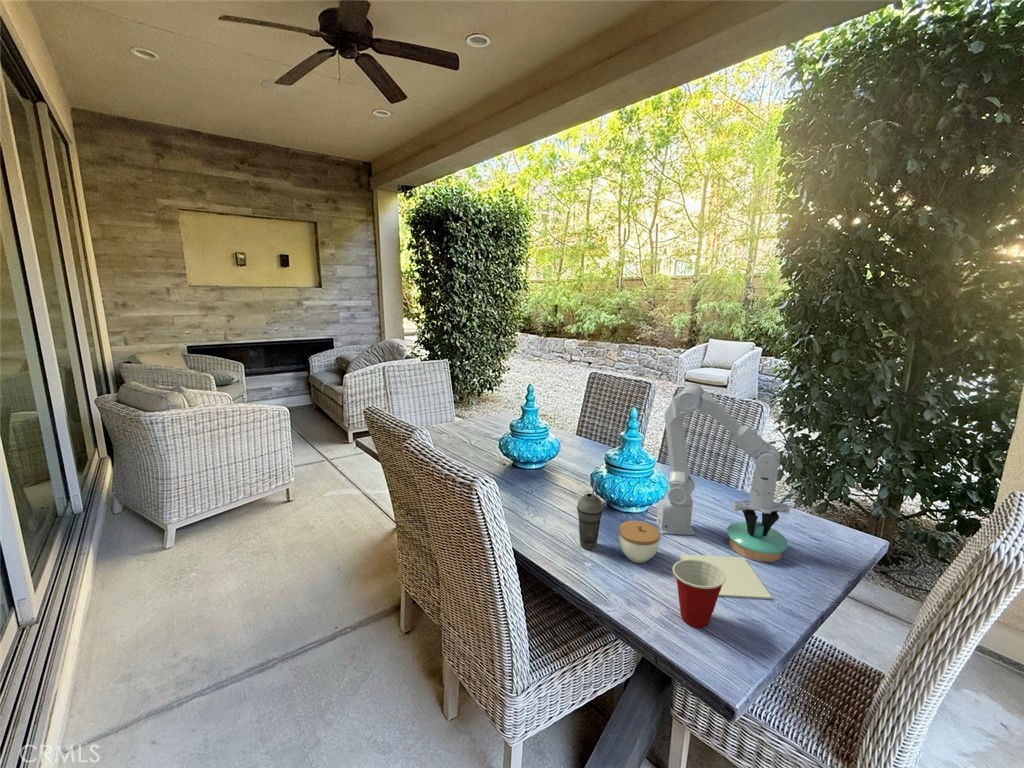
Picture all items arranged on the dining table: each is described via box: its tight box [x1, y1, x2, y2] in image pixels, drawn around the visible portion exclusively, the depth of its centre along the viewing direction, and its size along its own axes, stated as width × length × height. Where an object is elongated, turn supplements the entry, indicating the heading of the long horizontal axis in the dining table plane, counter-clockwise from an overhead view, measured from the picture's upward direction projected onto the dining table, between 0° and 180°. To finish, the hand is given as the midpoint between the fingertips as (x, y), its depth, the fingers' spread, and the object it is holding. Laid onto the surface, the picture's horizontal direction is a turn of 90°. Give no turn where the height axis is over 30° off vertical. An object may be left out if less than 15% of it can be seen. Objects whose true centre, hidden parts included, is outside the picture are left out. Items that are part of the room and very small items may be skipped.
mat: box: [679, 554, 773, 600], centre depth 117 cm, size 17×16×1 cm
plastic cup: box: [672, 559, 726, 629], centre depth 101 cm, size 11×11×12 cm
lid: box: [726, 521, 789, 554], centre depth 128 cm, size 15×15×4 cm
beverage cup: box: [576, 480, 604, 551], centre depth 128 cm, size 7×7×20 cm
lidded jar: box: [618, 520, 661, 564], centre depth 124 cm, size 11×11×9 cm
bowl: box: [728, 537, 783, 563], centre depth 129 cm, size 13×13×4 cm
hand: (756, 534), depth 128 cm, fingers closed on lid, 3 cm apart
